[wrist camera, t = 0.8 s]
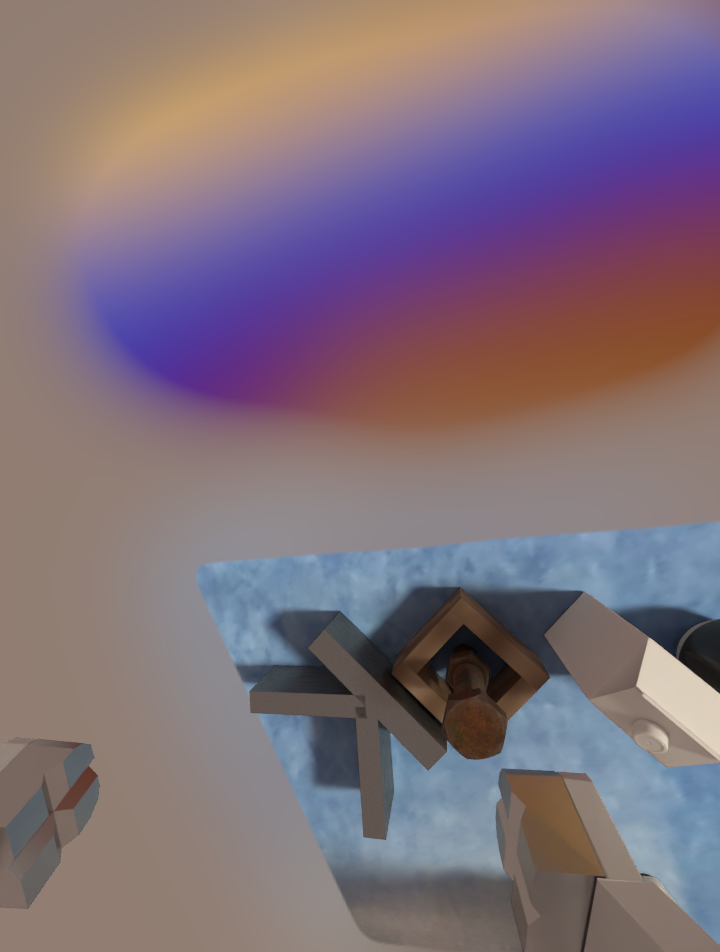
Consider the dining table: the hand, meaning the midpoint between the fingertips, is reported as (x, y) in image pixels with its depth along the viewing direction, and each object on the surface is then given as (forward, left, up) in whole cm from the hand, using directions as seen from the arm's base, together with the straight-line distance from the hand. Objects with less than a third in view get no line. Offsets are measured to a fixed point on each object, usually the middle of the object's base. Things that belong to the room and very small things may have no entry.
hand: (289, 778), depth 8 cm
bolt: (-14, +8, -44) cm, 46 cm away
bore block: (-14, +8, -43) cm, 46 cm away
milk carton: (-22, -4, -44) cm, 49 cm away
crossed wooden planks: (-8, +21, -43) cm, 49 cm away
